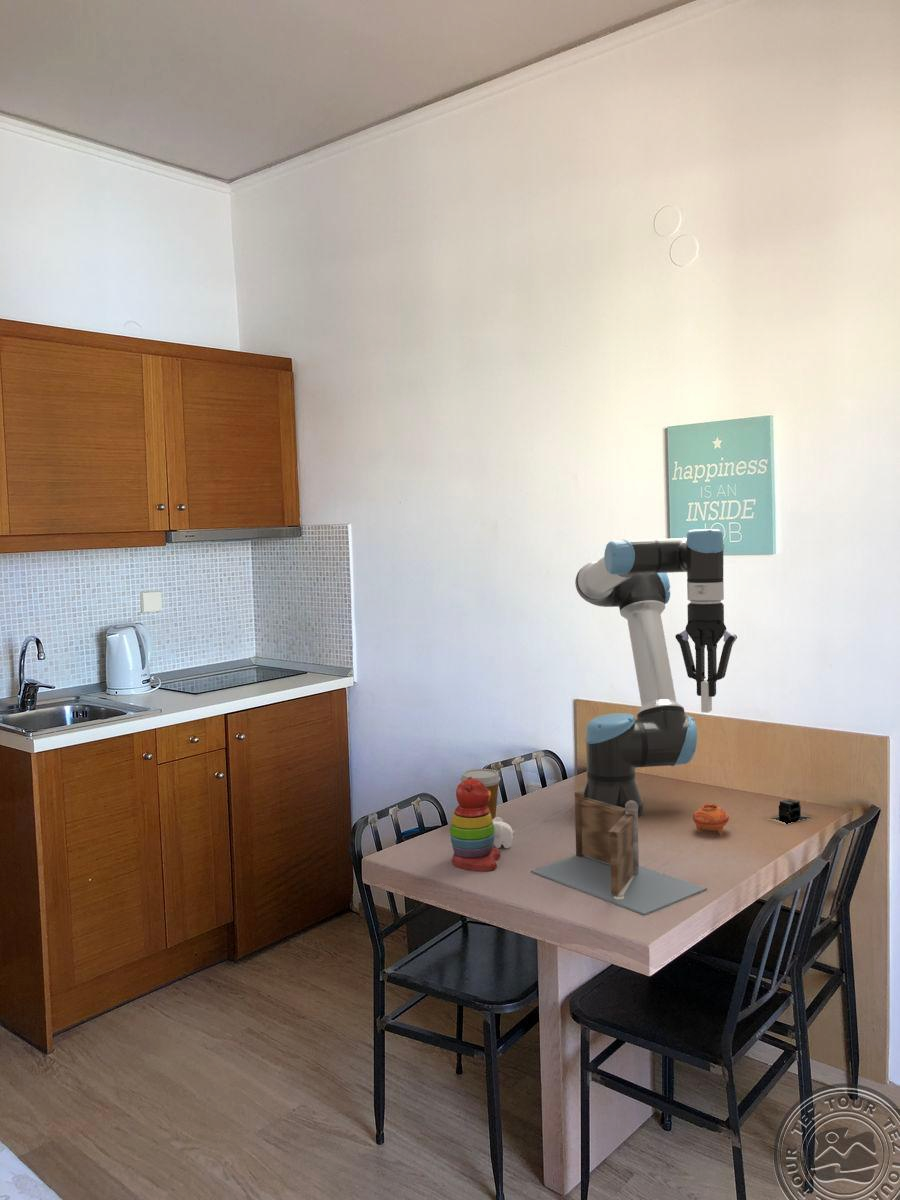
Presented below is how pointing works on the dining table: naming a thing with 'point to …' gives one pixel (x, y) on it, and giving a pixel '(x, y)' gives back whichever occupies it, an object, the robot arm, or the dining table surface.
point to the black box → (790, 811)
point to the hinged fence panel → (621, 852)
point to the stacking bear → (473, 828)
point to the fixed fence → (601, 828)
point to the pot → (710, 818)
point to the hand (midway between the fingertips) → (706, 711)
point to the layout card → (637, 893)
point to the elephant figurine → (502, 833)
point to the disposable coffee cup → (486, 784)
